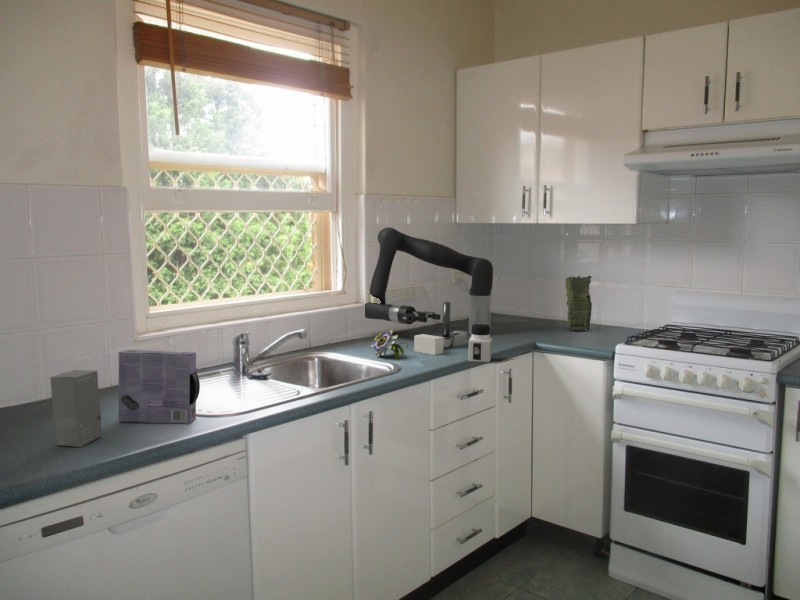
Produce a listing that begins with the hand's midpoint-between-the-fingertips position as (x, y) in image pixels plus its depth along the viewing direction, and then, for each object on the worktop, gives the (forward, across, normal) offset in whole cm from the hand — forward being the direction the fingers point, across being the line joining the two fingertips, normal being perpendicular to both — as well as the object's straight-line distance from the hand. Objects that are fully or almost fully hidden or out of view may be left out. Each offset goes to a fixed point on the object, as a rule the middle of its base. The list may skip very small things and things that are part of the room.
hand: (433, 318), depth 263 cm
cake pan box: (+10, -123, +11) cm, 124 cm away
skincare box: (+10, -143, +11) cm, 144 cm away
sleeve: (+6, +6, +11) cm, 14 cm away
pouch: (+25, +75, +11) cm, 80 cm away
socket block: (+6, -11, +11) cm, 17 cm away
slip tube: (+6, +2, +11) cm, 13 cm away
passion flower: (+1, -27, +11) cm, 29 cm away
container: (+28, -9, +11) cm, 32 cm away
